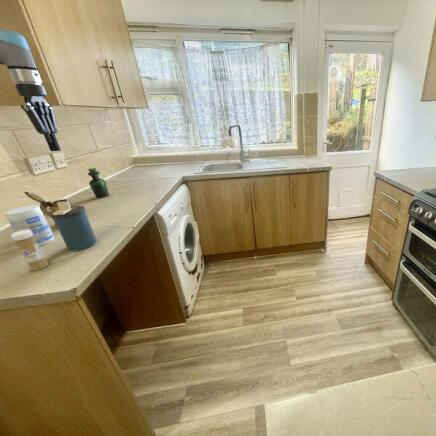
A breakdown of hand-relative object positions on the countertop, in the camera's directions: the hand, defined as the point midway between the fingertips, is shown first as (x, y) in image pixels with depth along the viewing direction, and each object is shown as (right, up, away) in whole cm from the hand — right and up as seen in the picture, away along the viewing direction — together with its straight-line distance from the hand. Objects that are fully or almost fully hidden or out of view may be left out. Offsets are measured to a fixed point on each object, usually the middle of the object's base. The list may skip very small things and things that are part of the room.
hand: (55, 150), depth 98 cm
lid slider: (+13, -25, -11) cm, 30 cm away
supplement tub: (-8, -37, +1) cm, 38 cm away
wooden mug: (-14, -30, +18) cm, 38 cm away
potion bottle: (-24, -14, +56) cm, 62 cm away
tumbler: (+13, -38, -2) cm, 40 cm away
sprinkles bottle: (+9, -44, -14) cm, 47 cm away
